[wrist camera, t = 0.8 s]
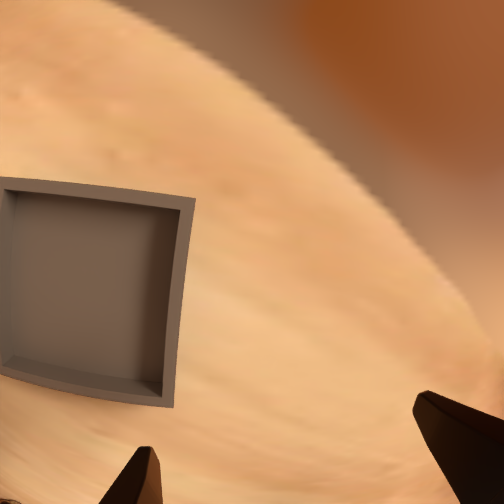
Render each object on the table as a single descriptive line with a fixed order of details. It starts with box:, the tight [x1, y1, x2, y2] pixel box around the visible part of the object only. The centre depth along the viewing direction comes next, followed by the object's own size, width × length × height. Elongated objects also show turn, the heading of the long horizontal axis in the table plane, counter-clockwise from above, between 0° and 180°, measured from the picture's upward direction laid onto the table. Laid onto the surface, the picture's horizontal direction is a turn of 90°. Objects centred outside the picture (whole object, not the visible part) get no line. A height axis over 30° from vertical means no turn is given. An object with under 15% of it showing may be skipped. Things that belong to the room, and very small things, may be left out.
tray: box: [0, 177, 196, 408], centre depth 18 cm, size 14×14×2 cm
